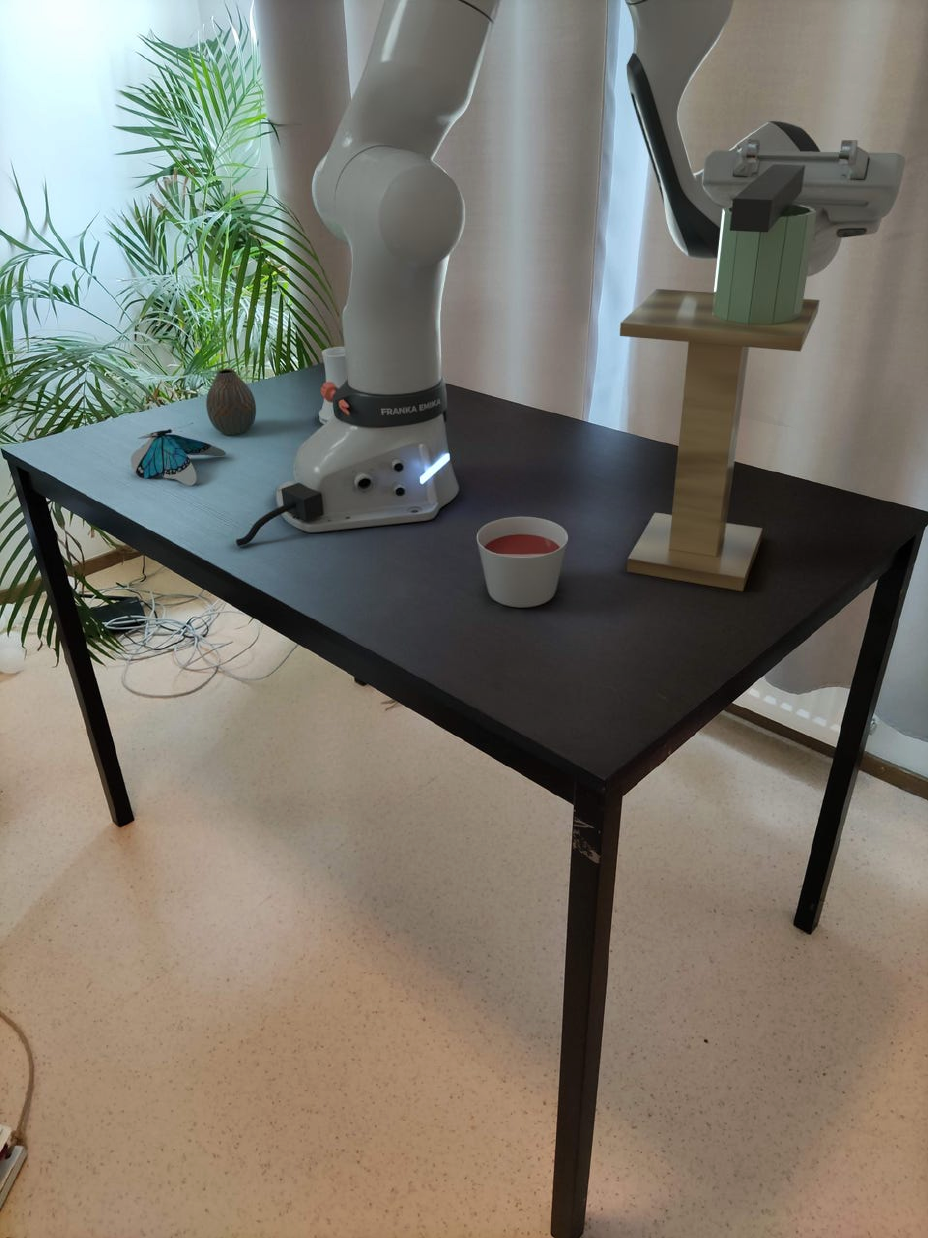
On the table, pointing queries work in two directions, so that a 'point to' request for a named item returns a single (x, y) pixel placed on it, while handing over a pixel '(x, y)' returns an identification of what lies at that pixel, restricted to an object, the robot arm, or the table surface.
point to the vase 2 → (333, 376)
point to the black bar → (766, 198)
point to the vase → (230, 404)
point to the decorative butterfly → (170, 456)
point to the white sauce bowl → (522, 559)
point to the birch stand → (705, 437)
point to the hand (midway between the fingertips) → (798, 146)
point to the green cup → (764, 269)
